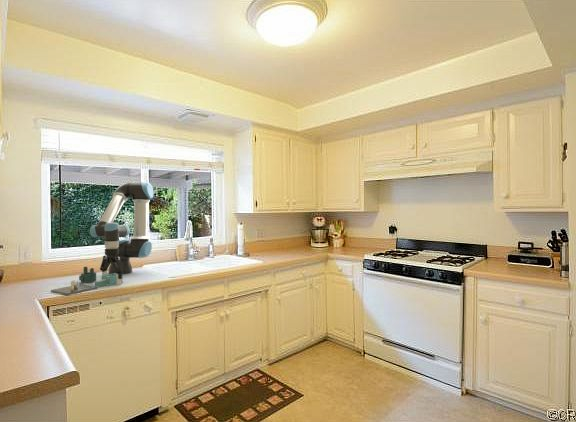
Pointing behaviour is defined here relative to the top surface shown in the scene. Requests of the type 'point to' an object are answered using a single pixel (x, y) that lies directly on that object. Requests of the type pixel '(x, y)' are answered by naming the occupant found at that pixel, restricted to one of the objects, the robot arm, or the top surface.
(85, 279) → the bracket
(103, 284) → the teal stepped block
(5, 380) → the top surface
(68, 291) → the post plate
